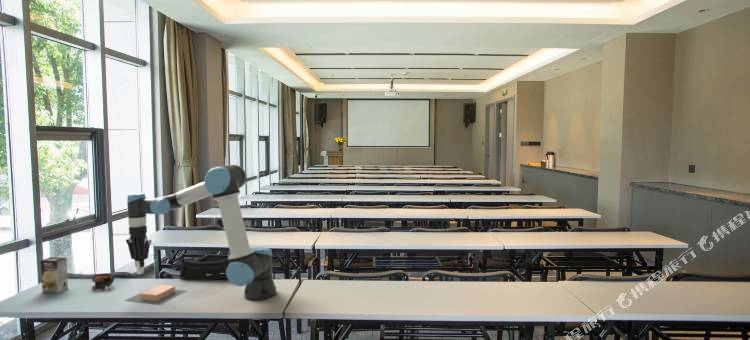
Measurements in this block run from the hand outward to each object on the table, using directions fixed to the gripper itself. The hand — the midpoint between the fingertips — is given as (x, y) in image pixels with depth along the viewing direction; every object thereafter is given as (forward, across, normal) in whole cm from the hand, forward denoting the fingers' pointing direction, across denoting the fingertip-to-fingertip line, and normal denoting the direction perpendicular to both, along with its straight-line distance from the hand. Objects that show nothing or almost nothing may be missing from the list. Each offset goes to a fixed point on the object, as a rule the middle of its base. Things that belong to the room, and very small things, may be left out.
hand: (140, 273), depth 203 cm
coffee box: (+11, +47, +5) cm, 49 cm away
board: (+9, -5, 0) cm, 10 cm away
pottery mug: (+11, +27, -4) cm, 30 cm away
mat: (+11, -9, 0) cm, 14 cm away
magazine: (+11, -17, -29) cm, 35 cm away
